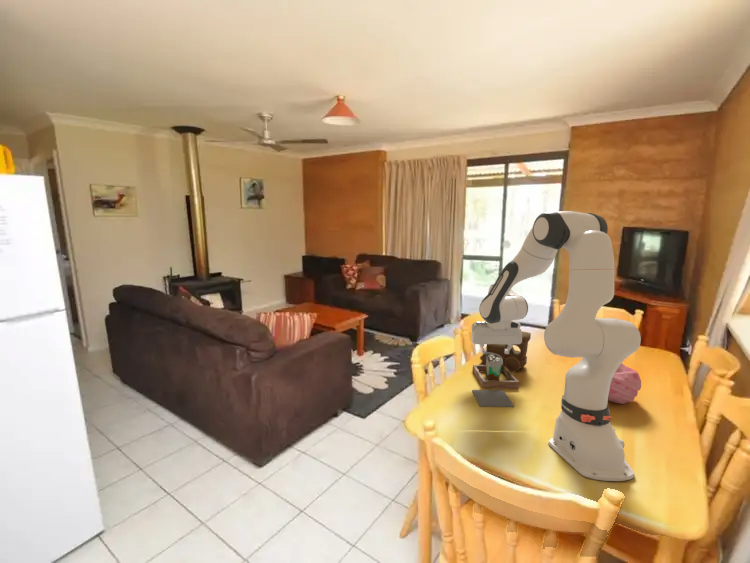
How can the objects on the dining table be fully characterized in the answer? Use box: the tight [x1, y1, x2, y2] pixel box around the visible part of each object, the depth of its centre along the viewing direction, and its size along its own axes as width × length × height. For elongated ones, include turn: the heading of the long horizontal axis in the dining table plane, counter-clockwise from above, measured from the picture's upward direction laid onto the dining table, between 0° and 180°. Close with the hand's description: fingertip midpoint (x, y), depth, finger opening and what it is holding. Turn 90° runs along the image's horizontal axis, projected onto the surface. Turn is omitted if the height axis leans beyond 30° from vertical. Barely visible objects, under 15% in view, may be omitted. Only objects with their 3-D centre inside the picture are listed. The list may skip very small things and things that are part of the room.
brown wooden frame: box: [472, 364, 520, 390], centre depth 153 cm, size 17×14×3 cm
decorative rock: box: [608, 362, 642, 405], centre depth 133 cm, size 19×14×15 cm
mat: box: [471, 389, 515, 408], centre depth 136 cm, size 12×12×1 cm
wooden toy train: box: [479, 330, 532, 373], centre depth 166 cm, size 20×11×17 cm, turn 56°
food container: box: [485, 352, 504, 381], centre depth 152 cm, size 12×6×10 cm, turn 168°
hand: (495, 353), depth 151 cm, fingers open, 8 cm apart
